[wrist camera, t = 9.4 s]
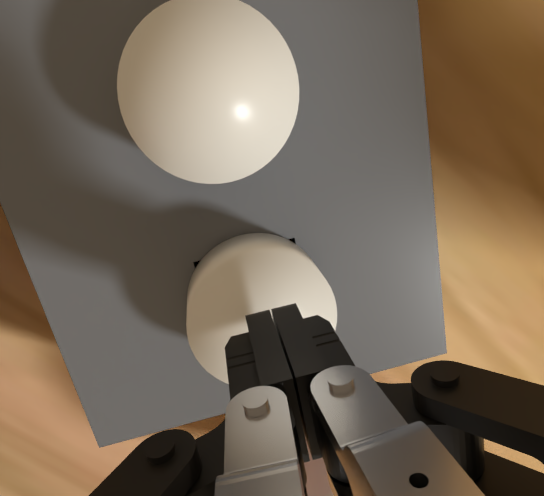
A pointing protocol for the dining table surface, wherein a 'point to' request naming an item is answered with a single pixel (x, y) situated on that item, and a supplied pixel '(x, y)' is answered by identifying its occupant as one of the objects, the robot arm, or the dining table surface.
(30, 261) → the housing
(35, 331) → the dining table surface
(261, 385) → the robot arm
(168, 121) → the knob middle
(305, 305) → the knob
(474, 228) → the dining table surface
